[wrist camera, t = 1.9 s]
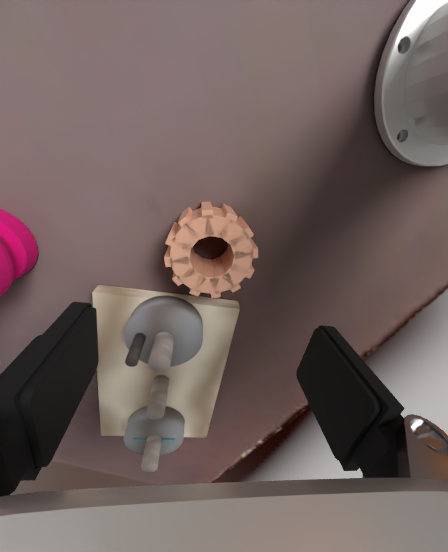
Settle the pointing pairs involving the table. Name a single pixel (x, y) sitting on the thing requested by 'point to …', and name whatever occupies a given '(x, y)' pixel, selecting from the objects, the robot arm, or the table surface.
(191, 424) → the board
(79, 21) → the table surface
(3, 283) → the pepper mill
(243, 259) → the gear
